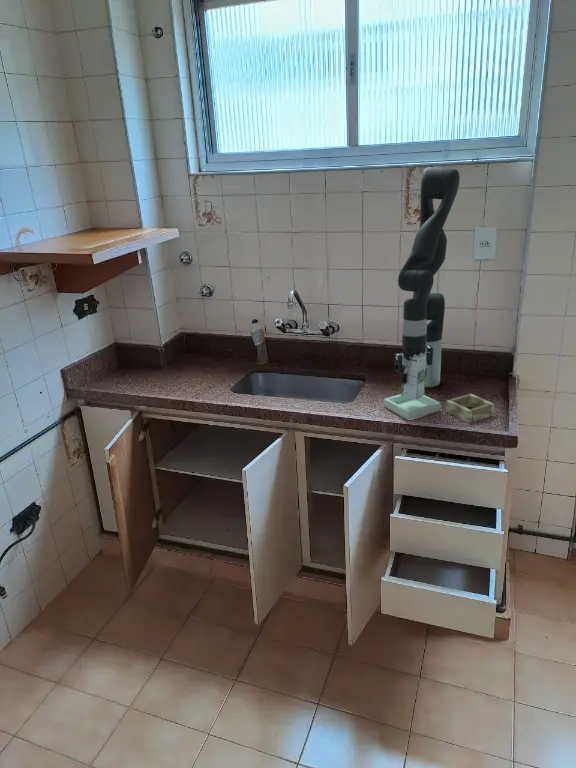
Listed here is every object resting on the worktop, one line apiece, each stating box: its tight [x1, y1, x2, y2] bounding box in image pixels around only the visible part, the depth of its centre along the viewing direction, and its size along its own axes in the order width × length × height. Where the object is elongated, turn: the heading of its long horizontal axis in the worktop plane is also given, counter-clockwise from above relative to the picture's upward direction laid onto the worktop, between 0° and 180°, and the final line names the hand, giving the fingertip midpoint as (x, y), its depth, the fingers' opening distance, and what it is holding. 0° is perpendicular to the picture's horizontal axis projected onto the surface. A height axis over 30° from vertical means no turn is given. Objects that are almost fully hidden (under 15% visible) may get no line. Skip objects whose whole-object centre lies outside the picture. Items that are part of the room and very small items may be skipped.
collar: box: [445, 393, 495, 424], centre depth 187 cm, size 10×10×4 cm
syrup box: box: [400, 354, 426, 400], centre depth 189 cm, size 6×6×14 cm
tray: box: [383, 393, 441, 419], centre depth 193 cm, size 13×13×3 cm
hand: (413, 380), depth 190 cm, fingers closed on syrup box, 7 cm apart
